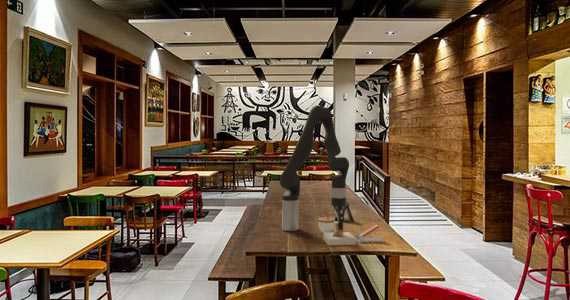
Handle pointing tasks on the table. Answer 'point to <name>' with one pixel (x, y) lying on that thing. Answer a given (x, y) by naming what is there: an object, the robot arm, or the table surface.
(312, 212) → the table surface
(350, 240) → the socket block
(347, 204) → the phone stand
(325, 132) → the robot arm
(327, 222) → the lidded jar
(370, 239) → the lever bracket
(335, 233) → the peg
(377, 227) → the latch lever
